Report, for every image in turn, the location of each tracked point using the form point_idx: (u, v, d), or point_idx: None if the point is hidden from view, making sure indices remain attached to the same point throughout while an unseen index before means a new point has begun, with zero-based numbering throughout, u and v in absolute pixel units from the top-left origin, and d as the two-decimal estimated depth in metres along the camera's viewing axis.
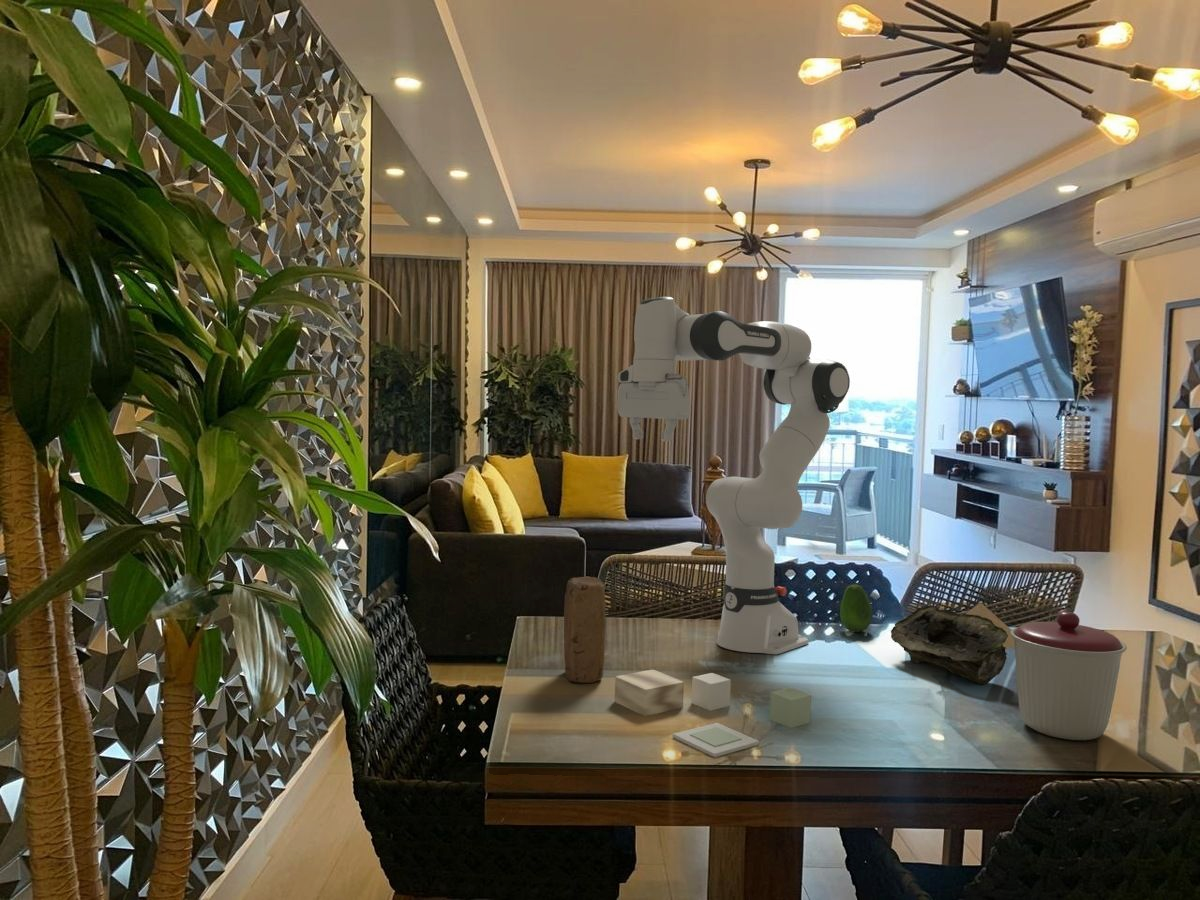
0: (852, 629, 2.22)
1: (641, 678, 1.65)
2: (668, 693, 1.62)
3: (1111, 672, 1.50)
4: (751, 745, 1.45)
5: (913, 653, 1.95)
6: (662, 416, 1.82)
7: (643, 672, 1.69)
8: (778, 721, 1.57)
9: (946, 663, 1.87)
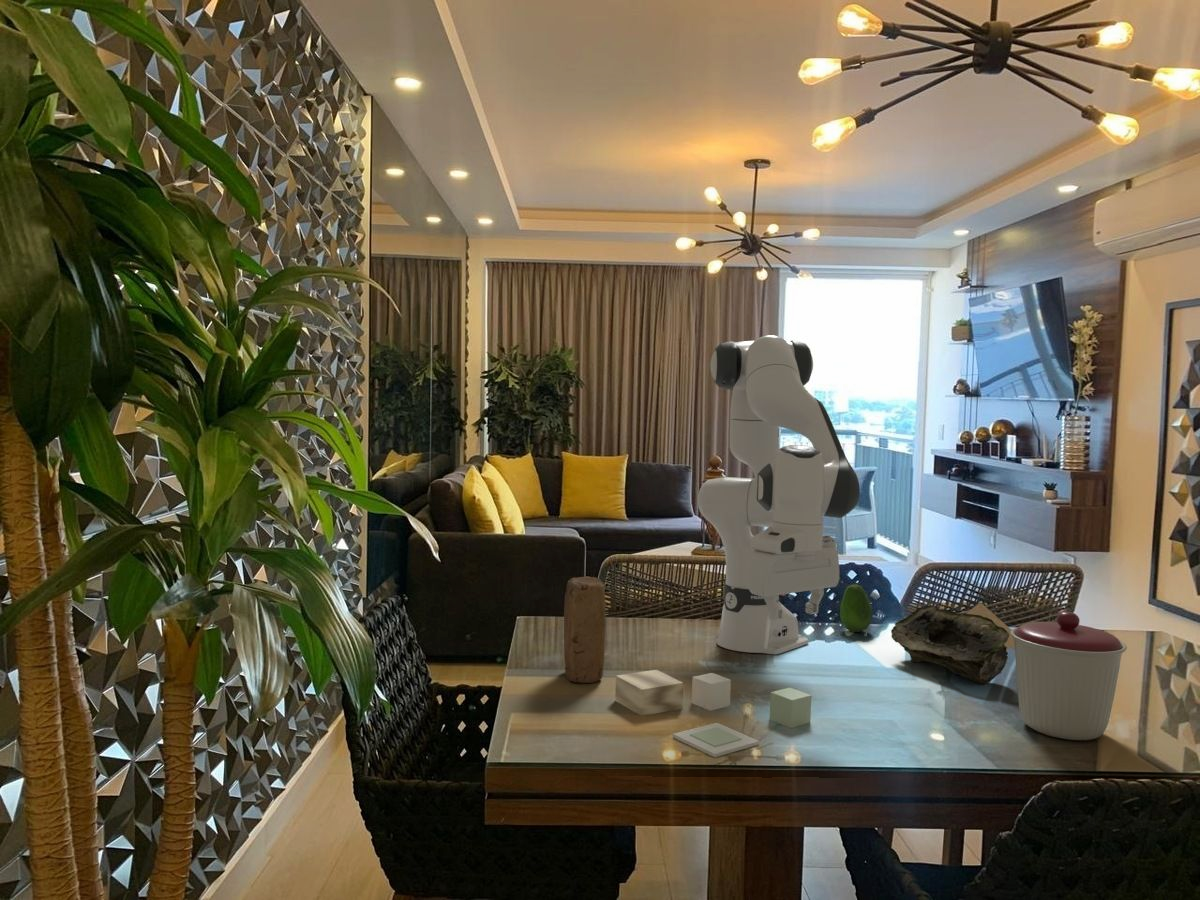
0: (852, 629, 2.22)
1: (641, 678, 1.65)
2: (666, 694, 1.61)
3: (1111, 672, 1.50)
4: (751, 745, 1.45)
5: (914, 653, 1.95)
6: (822, 586, 1.59)
7: (645, 672, 1.69)
8: (778, 721, 1.57)
9: (947, 663, 1.87)
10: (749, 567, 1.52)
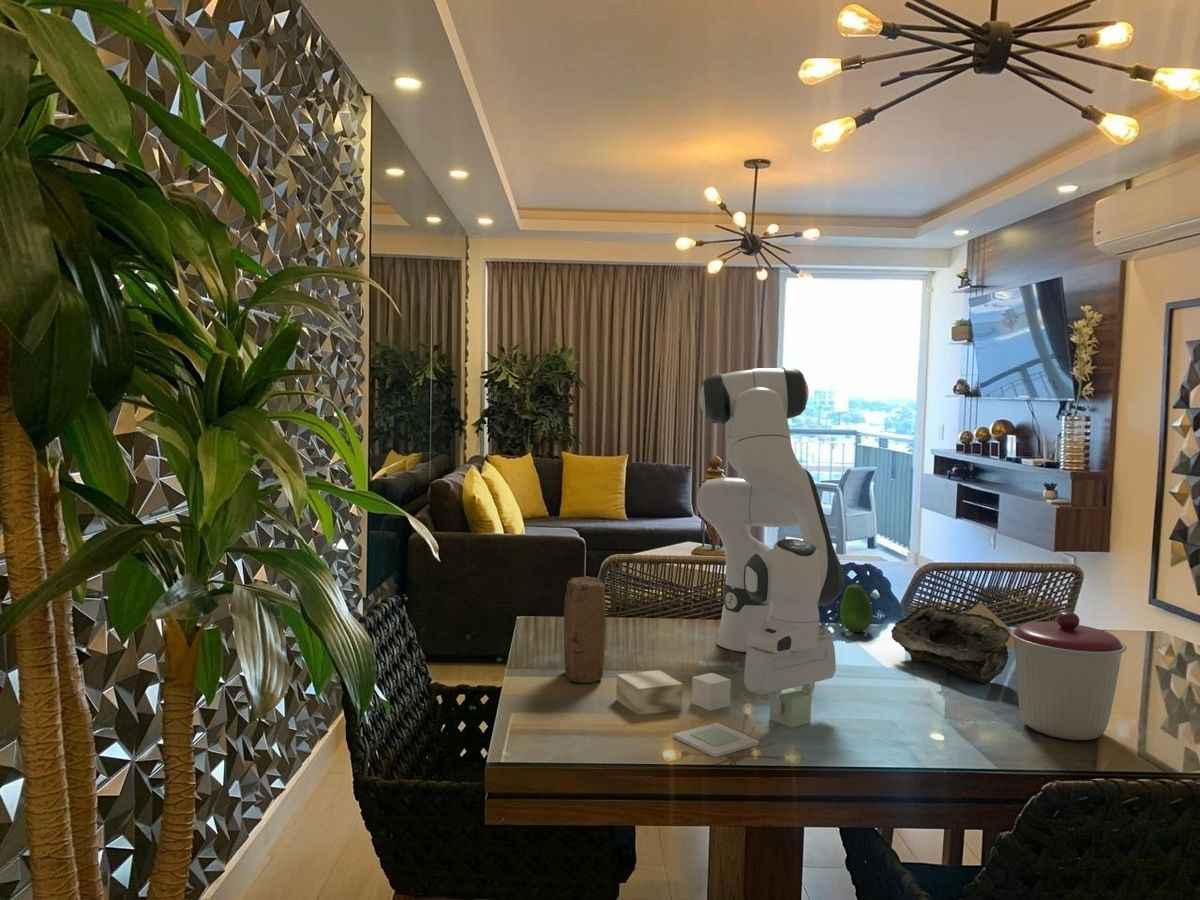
0: (852, 629, 2.22)
1: (641, 678, 1.65)
2: (664, 694, 1.61)
3: (1111, 672, 1.50)
4: (751, 745, 1.45)
5: (914, 653, 1.95)
6: (818, 679, 1.59)
7: (647, 672, 1.69)
8: (778, 720, 1.57)
9: (948, 663, 1.87)
10: (745, 665, 1.53)
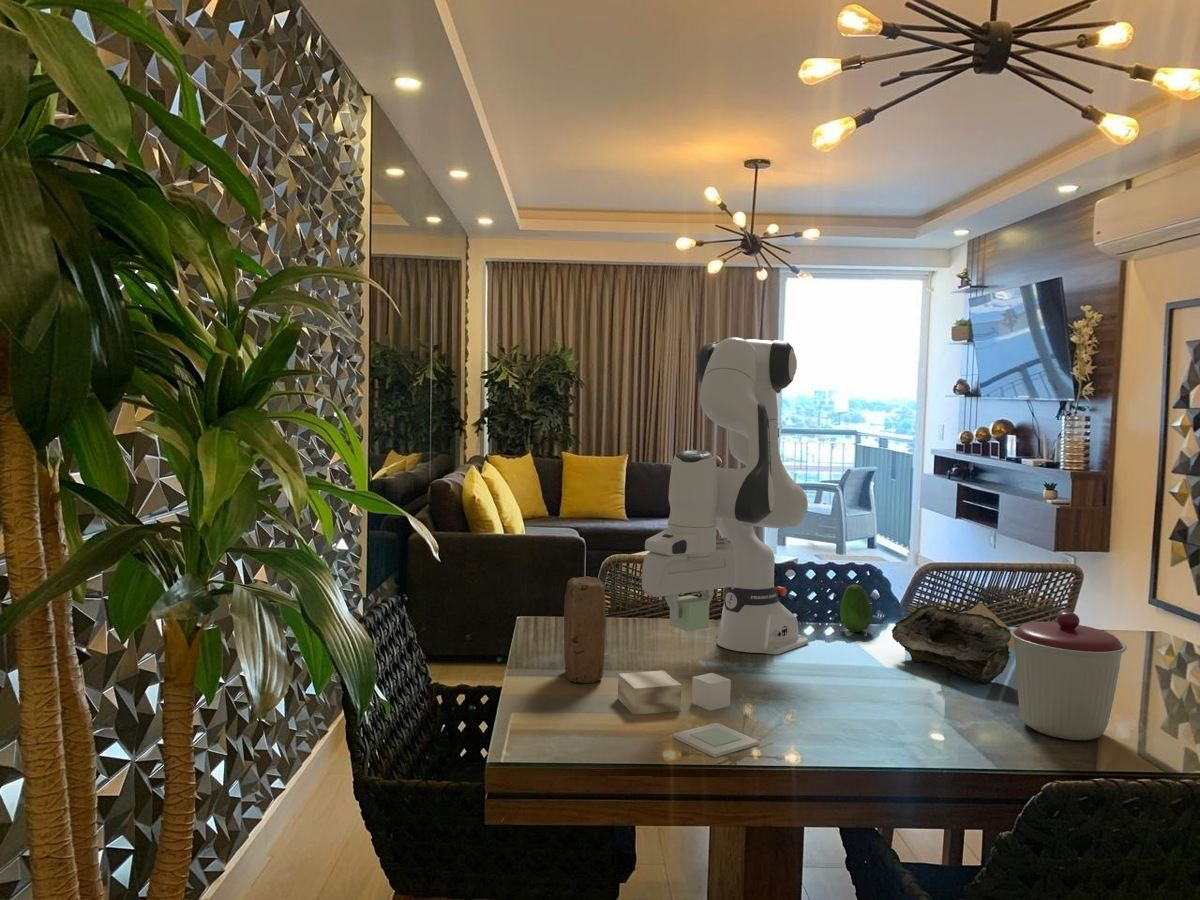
0: (852, 629, 2.22)
1: (641, 678, 1.65)
2: (662, 694, 1.61)
3: (1111, 672, 1.50)
4: (751, 745, 1.45)
5: (915, 653, 1.96)
6: (717, 586, 1.64)
7: (650, 672, 1.69)
8: (677, 625, 1.61)
9: (949, 662, 1.88)
10: (643, 569, 1.57)
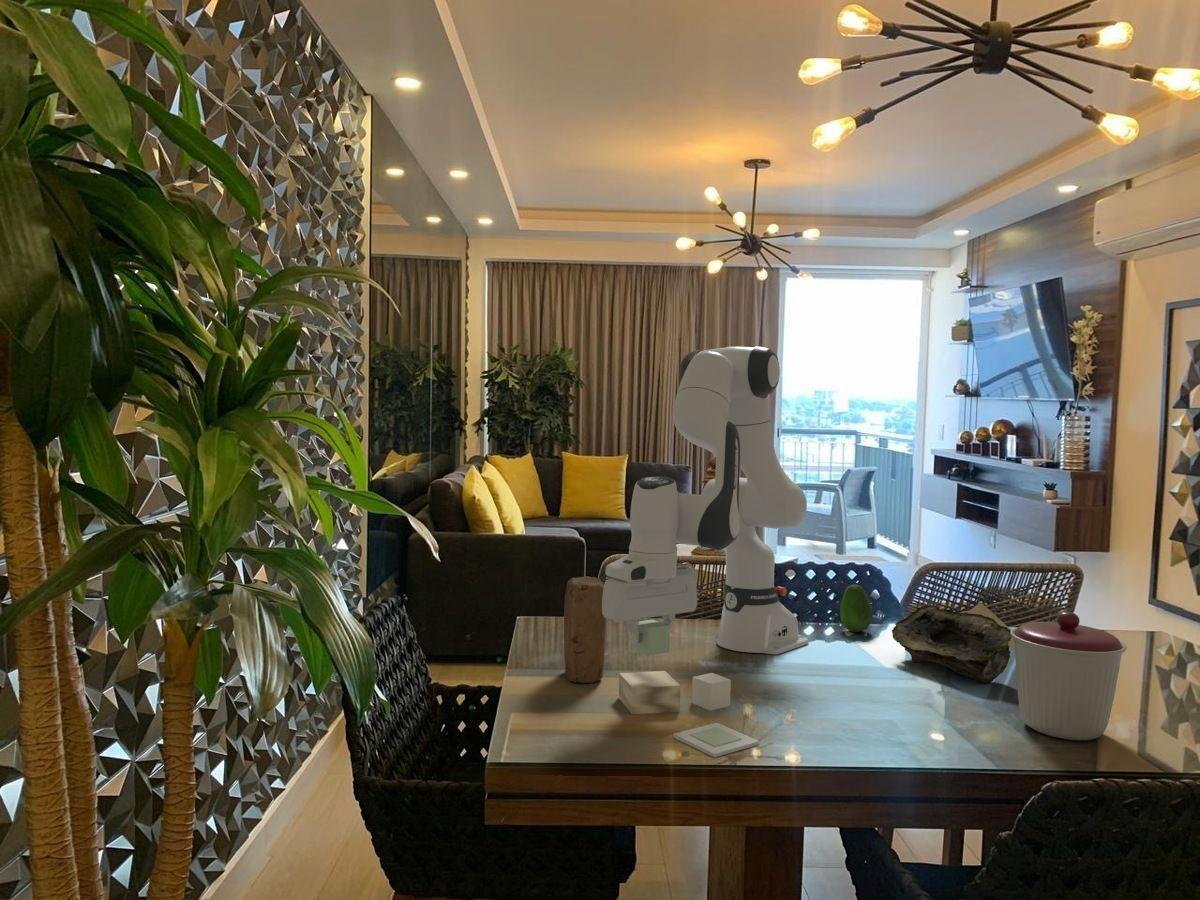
0: (852, 629, 2.22)
1: (641, 678, 1.65)
2: (660, 695, 1.61)
3: (1111, 672, 1.50)
4: (751, 745, 1.45)
5: (915, 653, 1.96)
6: (678, 611, 1.66)
7: (651, 672, 1.69)
8: (637, 650, 1.63)
9: (950, 662, 1.88)
10: (603, 594, 1.59)
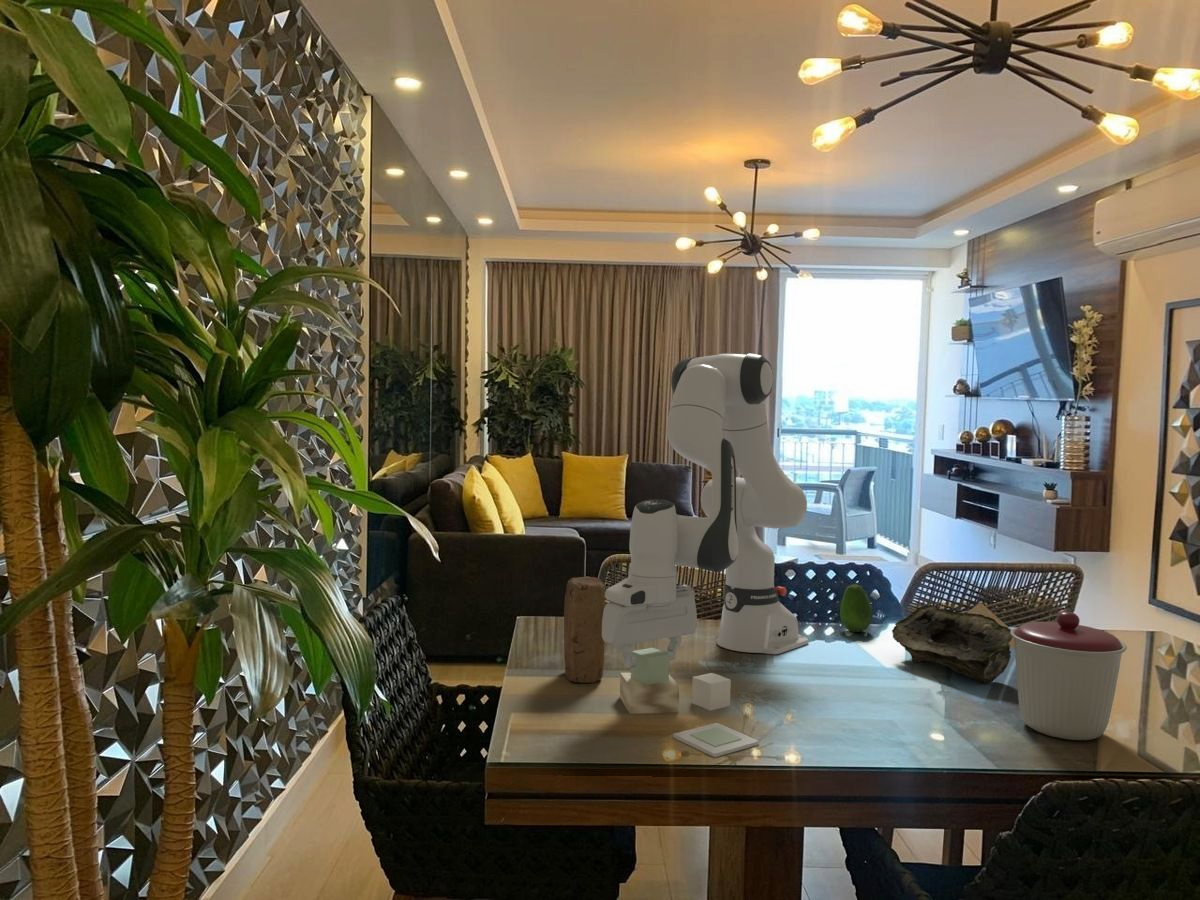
0: (852, 629, 2.22)
1: None
2: (659, 695, 1.60)
3: (1111, 672, 1.50)
4: (751, 745, 1.45)
5: (915, 653, 1.96)
6: (678, 634, 1.66)
7: None
8: (637, 679, 1.64)
9: (950, 662, 1.88)
10: (603, 618, 1.60)
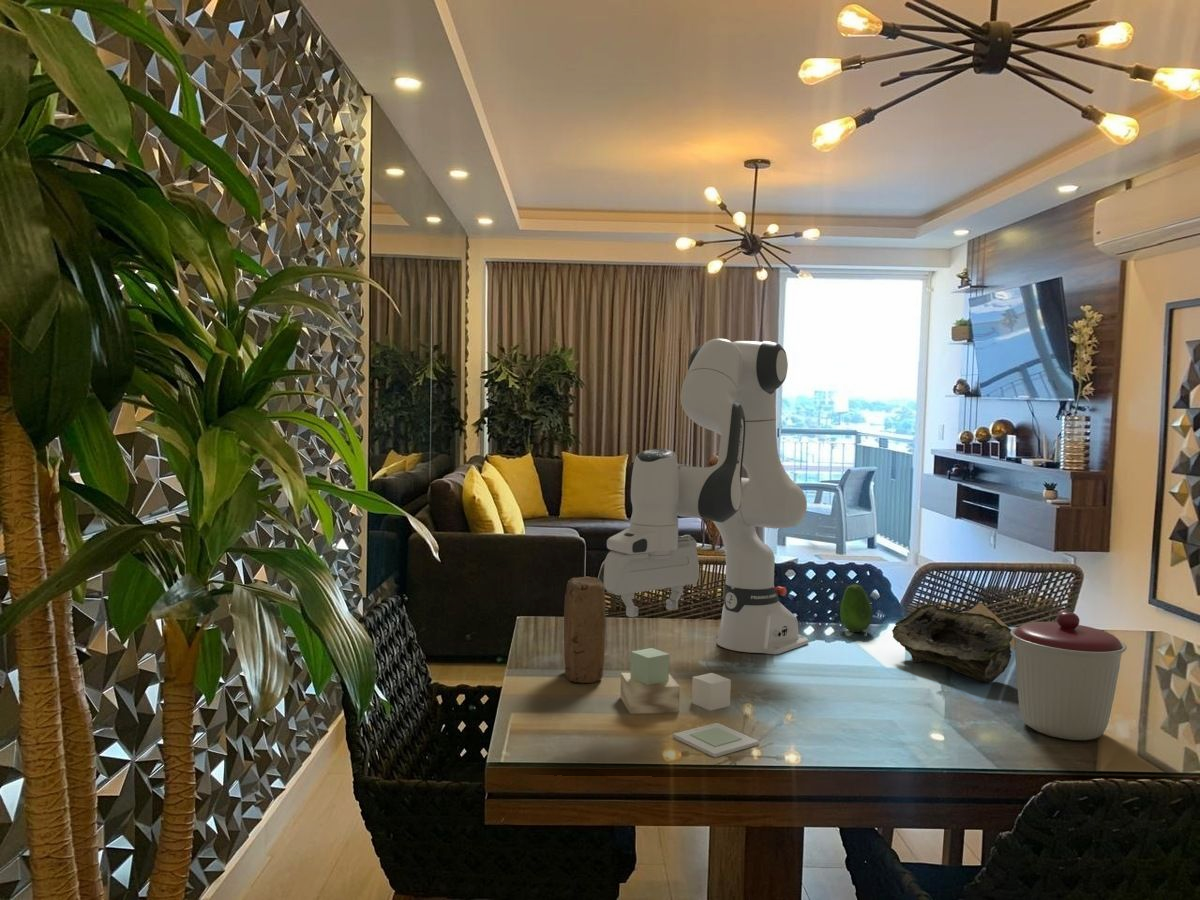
0: (852, 629, 2.22)
1: None
2: (659, 695, 1.60)
3: (1111, 672, 1.50)
4: (751, 745, 1.45)
5: (916, 653, 1.96)
6: (680, 584, 1.66)
7: None
8: (637, 679, 1.63)
9: (951, 662, 1.88)
10: (604, 567, 1.59)
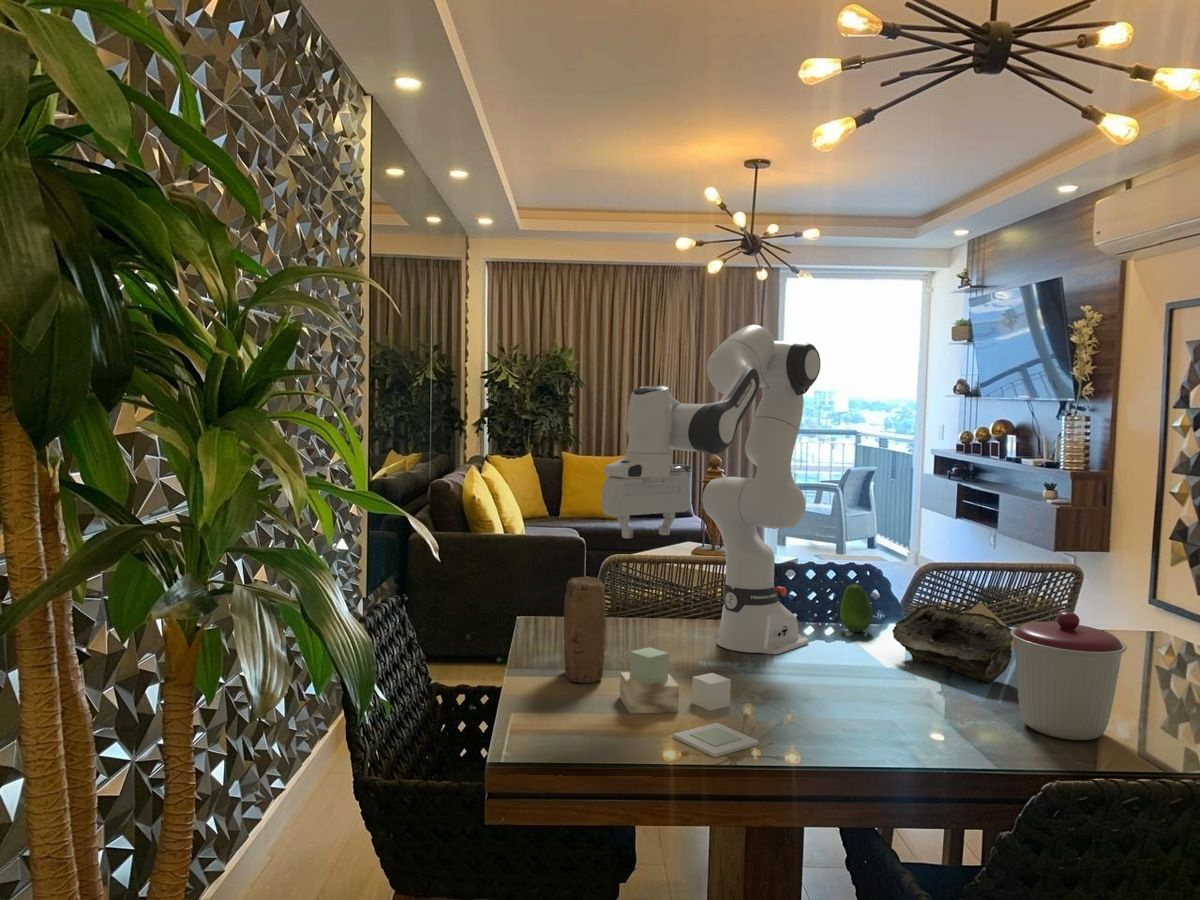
0: (852, 629, 2.22)
1: None
2: (658, 695, 1.61)
3: (1111, 672, 1.50)
4: (751, 745, 1.45)
5: (916, 653, 1.96)
6: (672, 510, 1.79)
7: None
8: (637, 679, 1.63)
9: (951, 662, 1.88)
10: (602, 491, 1.73)
